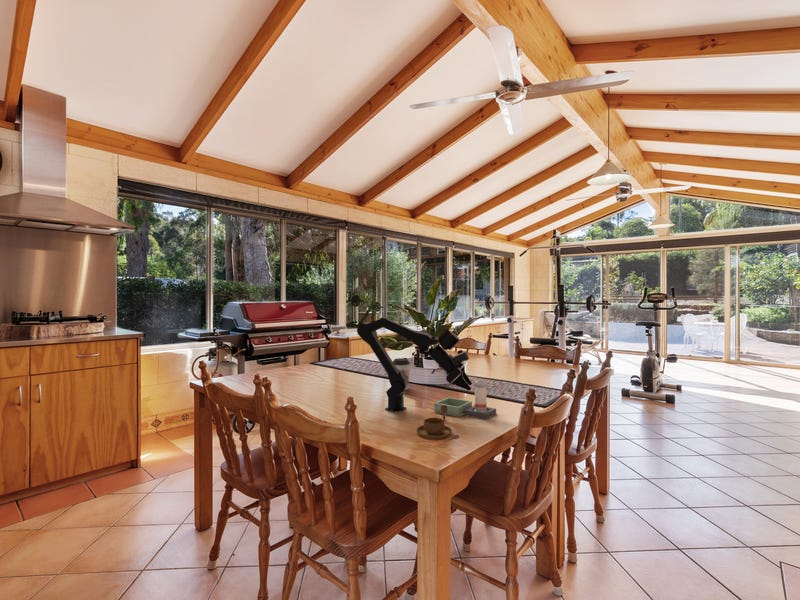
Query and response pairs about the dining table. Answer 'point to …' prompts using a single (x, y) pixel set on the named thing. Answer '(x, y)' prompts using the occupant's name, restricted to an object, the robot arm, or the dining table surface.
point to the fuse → (480, 395)
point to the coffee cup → (402, 365)
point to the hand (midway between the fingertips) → (470, 387)
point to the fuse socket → (482, 415)
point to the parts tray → (453, 406)
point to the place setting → (436, 427)
